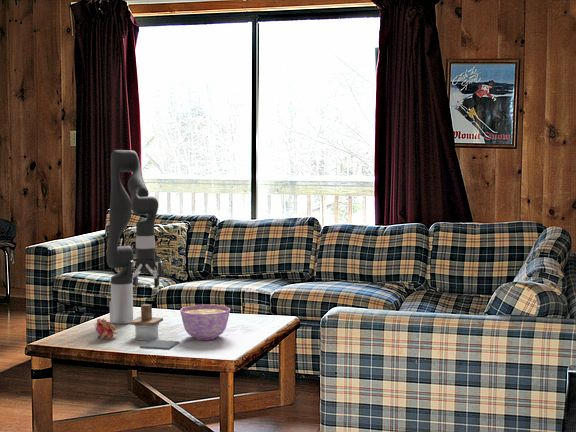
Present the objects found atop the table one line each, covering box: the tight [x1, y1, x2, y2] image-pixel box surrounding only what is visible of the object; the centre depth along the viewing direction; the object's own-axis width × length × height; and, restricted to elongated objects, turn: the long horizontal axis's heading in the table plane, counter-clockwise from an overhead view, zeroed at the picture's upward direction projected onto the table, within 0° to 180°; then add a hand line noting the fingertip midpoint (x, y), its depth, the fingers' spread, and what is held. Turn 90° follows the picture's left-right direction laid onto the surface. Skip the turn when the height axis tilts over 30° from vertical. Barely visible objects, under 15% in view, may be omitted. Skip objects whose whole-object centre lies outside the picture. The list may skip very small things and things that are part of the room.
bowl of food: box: [179, 304, 231, 341], centre depth 335 cm, size 20×20×12 cm
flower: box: [94, 318, 119, 340], centre depth 334 cm, size 10×9×8 cm
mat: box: [139, 339, 180, 350], centre depth 323 cm, size 12×11×1 cm
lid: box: [129, 303, 164, 326], centre depth 335 cm, size 10×10×7 cm
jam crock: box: [133, 323, 160, 341], centre depth 336 cm, size 10×10×6 cm
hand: (146, 287), depth 334 cm, fingers open, 8 cm apart
